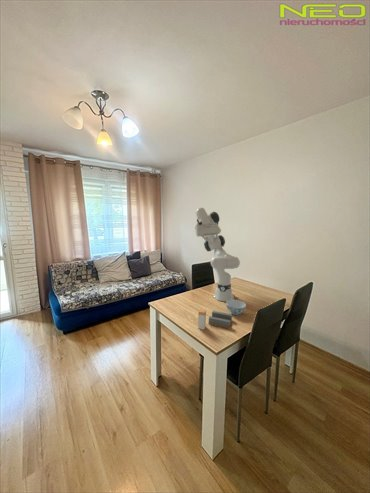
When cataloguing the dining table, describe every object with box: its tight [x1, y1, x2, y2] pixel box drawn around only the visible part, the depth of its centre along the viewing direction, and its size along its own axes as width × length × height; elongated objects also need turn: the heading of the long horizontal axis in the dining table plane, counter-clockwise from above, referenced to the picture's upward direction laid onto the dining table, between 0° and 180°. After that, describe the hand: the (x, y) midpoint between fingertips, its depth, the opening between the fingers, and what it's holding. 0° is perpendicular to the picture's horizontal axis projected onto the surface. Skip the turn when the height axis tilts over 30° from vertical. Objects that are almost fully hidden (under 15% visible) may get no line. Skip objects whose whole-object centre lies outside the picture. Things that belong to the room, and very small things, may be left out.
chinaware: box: [225, 299, 247, 316], centre depth 155 cm, size 15×15×8 cm
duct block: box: [208, 310, 233, 329], centre depth 141 cm, size 12×14×4 cm
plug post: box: [197, 308, 207, 331], centre depth 133 cm, size 4×4×12 cm
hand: (211, 239), depth 154 cm, fingers open, 8 cm apart
